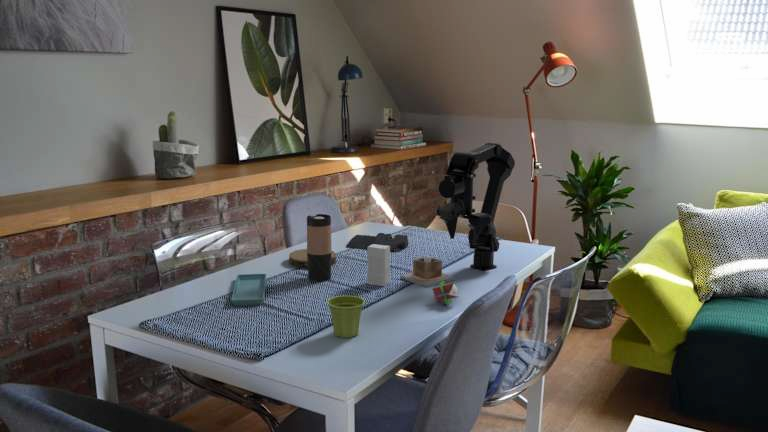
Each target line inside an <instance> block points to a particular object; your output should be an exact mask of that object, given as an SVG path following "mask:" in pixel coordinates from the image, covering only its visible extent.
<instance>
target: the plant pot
mask: <svg viewBox="0 0 768 432" xmlns="http://www.w3.org/2000/svg"><path fill="white" fill-rule="evenodd" d="M365 303H366V300H365V299H364V298H362V297H359V296H354V295H337V296H333V297H331V298H328V299H327V301H326V304H327V305H328V308H329V310H330V315H331V322H332V328H333V335H334V336H335V337H336V336H338V337H340V338H343V339H349V338H353V337H355V336H358V335H359V328H360V322H361V317H362V310H363V307H364V305H365Z"/></svg>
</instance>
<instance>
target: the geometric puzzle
mask: <svg viewBox="0 0 768 432" xmlns="http://www.w3.org/2000/svg"><path fill="white" fill-rule="evenodd" d="M432 293H433V294H434V299H435V301H436V303H442V305H445V306H448V305H450V303H452V302H454V300H456V299H457V298H459V289H458V287H457V286H456V284H455V283H454V282H451V283H448V282H444V279H443V280H442V282H440V283H439V284H437V285H436V286H435V287H432Z"/></svg>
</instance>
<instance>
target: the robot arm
mask: <svg viewBox="0 0 768 432" xmlns="http://www.w3.org/2000/svg"><path fill="white" fill-rule="evenodd" d="M483 162H485V163H486V165H487V168H486V169H487V173H488V175H489V179H488V183H487V187H486V190H485V195H484V199H483V203H482V206H481V210H480V212H476V208H473V203H474V202H473V201H474V200H476V196H475V195H473V194H474V187H473V186H474V178H476V177H477V174H476V173H475V171H476V170H477V169H478V168H479V165H480V164H481V163H483ZM515 163H516V162H515V159H514V157H513V155H512V154H511V153H510V152H509V151H508V150H506V149H504V148H503V146H502V145H501V144H500V143H497V142H496V143H495V142H494V143H493V142H492V143H491V142H487V143H486V142H485V144H484V145H481V146H479V147H477V148H475V149H472V150H470V151H456V152H454V154H453V155H452V156H451V158H450V161H449V163H448V167H447V169H446V172H445V175H444V179H442V180H441V182H440V183H439V184H438V191H439V195H441V196H442V197H443V198H444V199H450V201H449V202H447V203H446V204H443V205H442V206H437V209H436V216H438V217H439V219H441V220H442V221H443V222H444V224H445V225H446V228H447V231H448V235H449V237H450V240H451V239H452V240H453V239H455V235H456V231H457V225H458V219H459V218H462V219H467V220H468V223H469V224H467V225H468V227H469V231H468V234H467V236H468V237H467V239H468V244H469V249H472V250H474V251H473V261H472V262H473V263H472V264H470V267H471V268H474V269H478V270H480V271H487V270H491V269H494V268H498V267H497V265H496V264H494V260H495V259H494V255H495V254H494V253H495V252H499V249H500V241H499V240H498V238H497V237H496V233H497V230H496V227H495V224H494V222H495V218H496V214H497V209H498V206H499V201H500V199H501V195H502V190H503V187H504V183H505V182H506V180H508V178H510V177H511V174H512V172H513V169H514V168H515V165H516V164H515Z"/></svg>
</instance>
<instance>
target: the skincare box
mask: <svg viewBox="0 0 768 432" xmlns="http://www.w3.org/2000/svg"><path fill="white" fill-rule="evenodd" d="M366 251H367V261H366V262H367V284H368V285H371V286H380V287H386V286H388V285H389V284H390V283H391V252H390V246H386V245H377V244H372V245H370V246H368V247H367V250H366Z"/></svg>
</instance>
